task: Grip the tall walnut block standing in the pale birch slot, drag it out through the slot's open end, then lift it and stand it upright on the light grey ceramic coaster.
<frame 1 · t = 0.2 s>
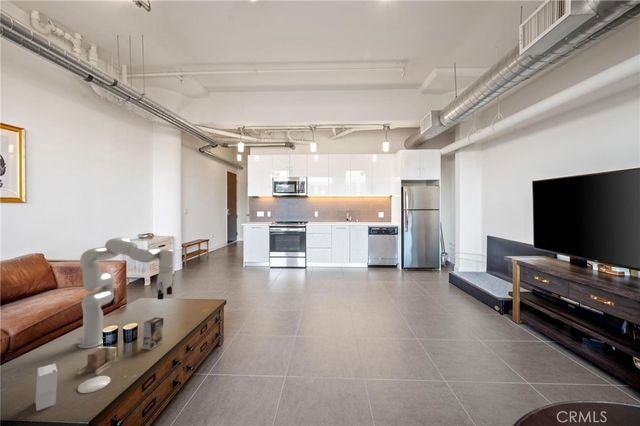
hand: (164, 296, 165), 31 cm above the table, fingers open, 9 cm apart
ceramic coaster: (94, 384, 128), on the table
coffee box: (153, 346, 166), on the table
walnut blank: (95, 369, 140), on the table
birch slot: (96, 368, 141), on the table
skincare box: (45, 403, 115), on the table
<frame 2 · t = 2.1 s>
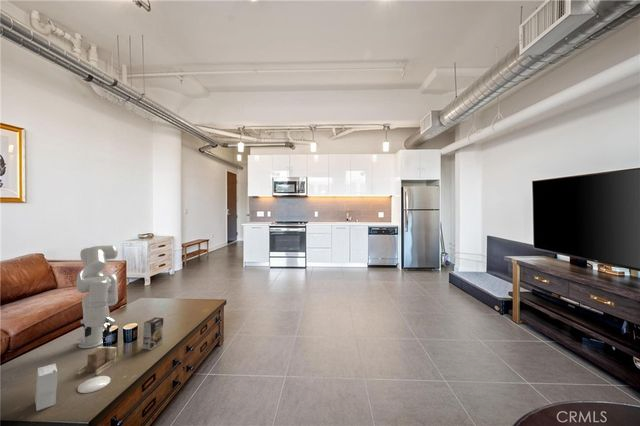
hand: (97, 336, 140), 17 cm above the table, fingers open, 9 cm apart
nothing on the table moved.
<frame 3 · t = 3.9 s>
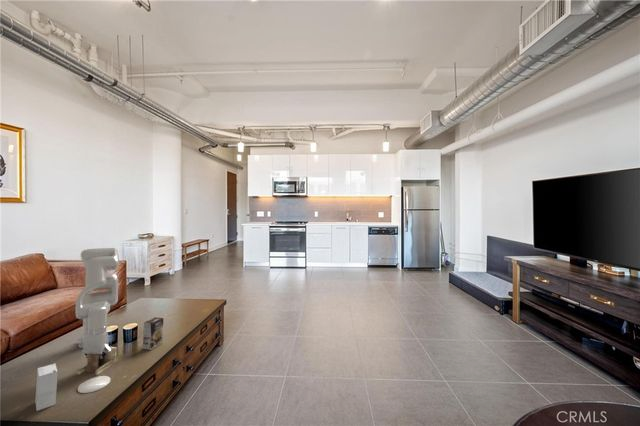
hand: (96, 364, 140), 2 cm above the table, fingers closed on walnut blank, 5 cm apart
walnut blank: (95, 369, 140), on the table, touching gripper
everything else where it was.
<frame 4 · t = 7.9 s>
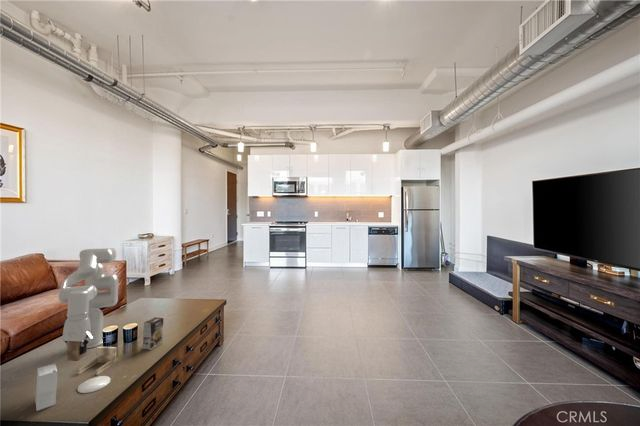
hand: (77, 352, 129), 14 cm above the table, fingers closed on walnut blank, 5 cm apart
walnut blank: (76, 357, 130), point 12 cm above the table, touching gripper
everything else where it was.
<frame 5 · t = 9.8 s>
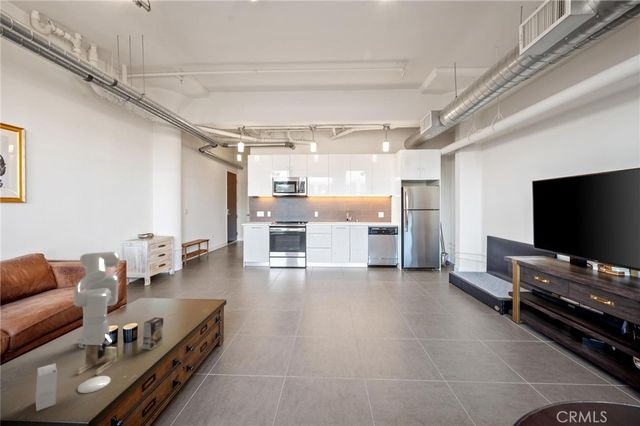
hand: (95, 356, 128), 14 cm above the table, fingers closed on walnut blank, 5 cm apart
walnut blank: (95, 361, 128), point 11 cm above the table, touching gripper
everything else where it was.
when the fingers open (4 cm above the table, at t = 11.7 s): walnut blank drops 1 cm, resting on ceramic coaster.
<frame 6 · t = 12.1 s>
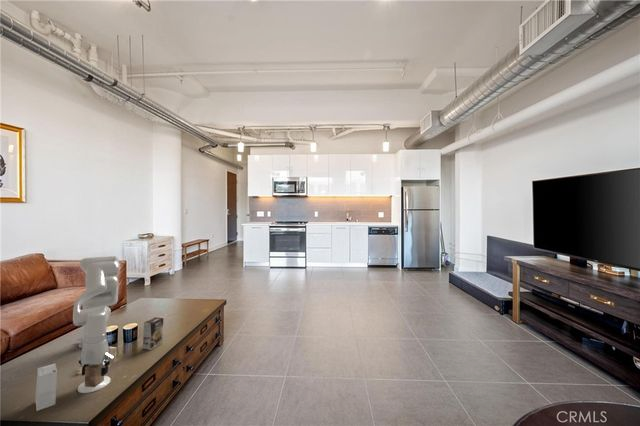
hand: (94, 374, 128), 5 cm above the table, fingers open, 8 cm apart
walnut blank: (94, 383, 128), point 1 cm above the table, touching ceramic coaster
everything else where it was.
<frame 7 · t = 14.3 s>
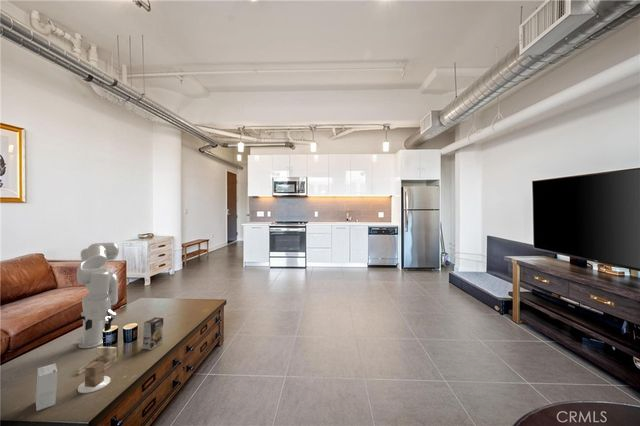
hand: (98, 329, 135), 23 cm above the table, fingers open, 9 cm apart
nothing on the table moved.
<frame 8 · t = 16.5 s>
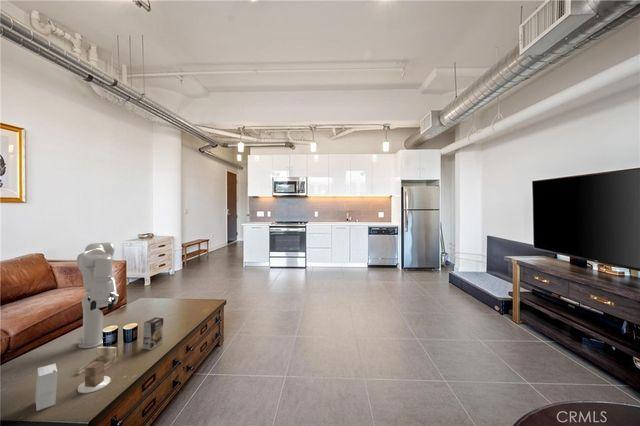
hand: (101, 309, 148), 28 cm above the table, fingers open, 9 cm apart
nothing on the table moved.
at the end: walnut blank inside the target area on the ceramic coaster (0.1 cm from its centre), point 0.6 cm above the ceramic coaster's base; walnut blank tilted 0°; the gripper is holding nothing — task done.
